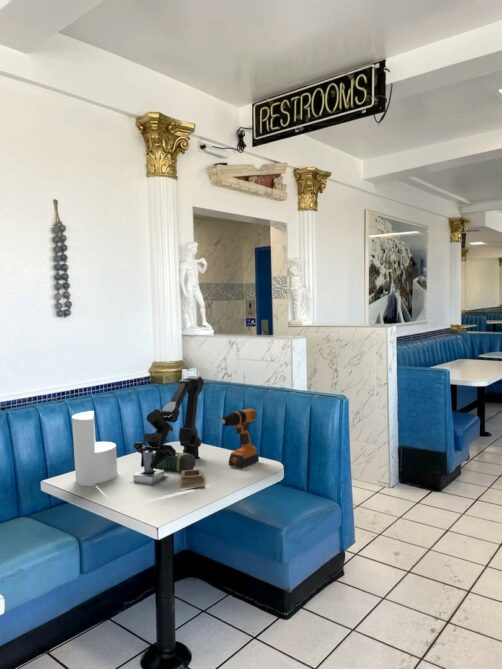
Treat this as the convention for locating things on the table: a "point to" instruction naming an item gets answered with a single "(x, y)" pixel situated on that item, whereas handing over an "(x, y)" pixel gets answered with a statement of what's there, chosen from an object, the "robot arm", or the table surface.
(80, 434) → the stepped white column
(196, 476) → the wooden tray
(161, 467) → the coffee jar
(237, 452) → the power drill
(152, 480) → the socket stand
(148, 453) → the metal rod
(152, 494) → the table surface
